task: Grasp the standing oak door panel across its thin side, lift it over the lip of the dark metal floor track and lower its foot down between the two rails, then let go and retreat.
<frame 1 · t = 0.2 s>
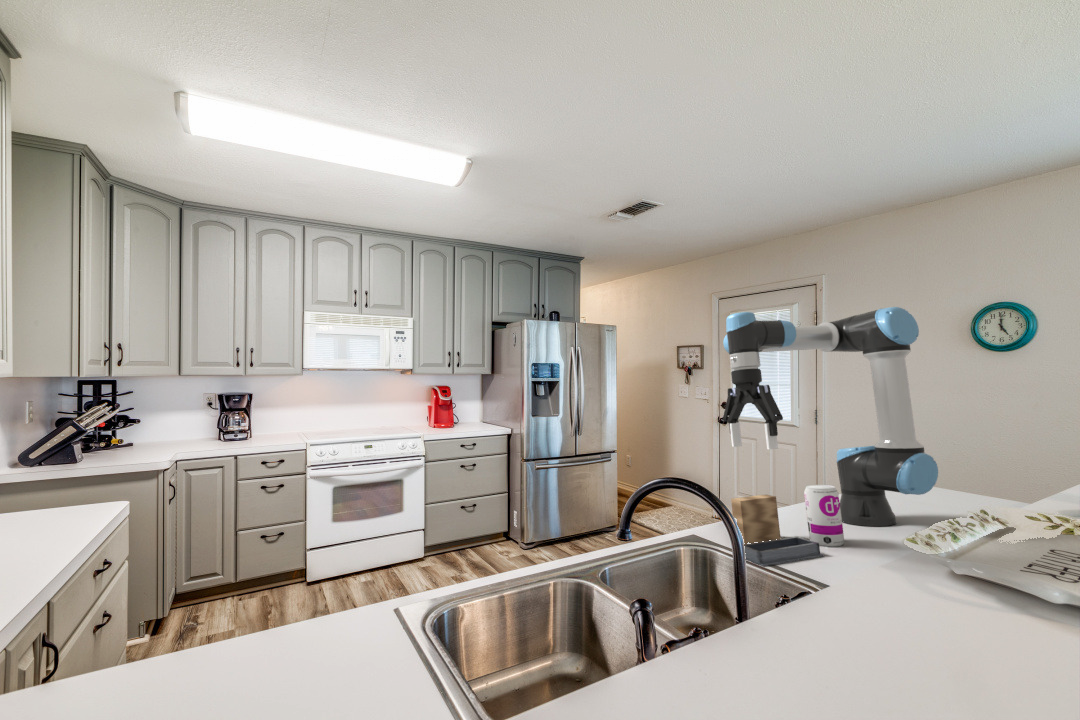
hand: (753, 447, 127), 27 cm above the countertop, fingers open, 13 cm apart
panel: (758, 540, 134), on the countertop
track: (780, 556, 120), on the countertop
supplement can: (827, 543, 129), on the countertop
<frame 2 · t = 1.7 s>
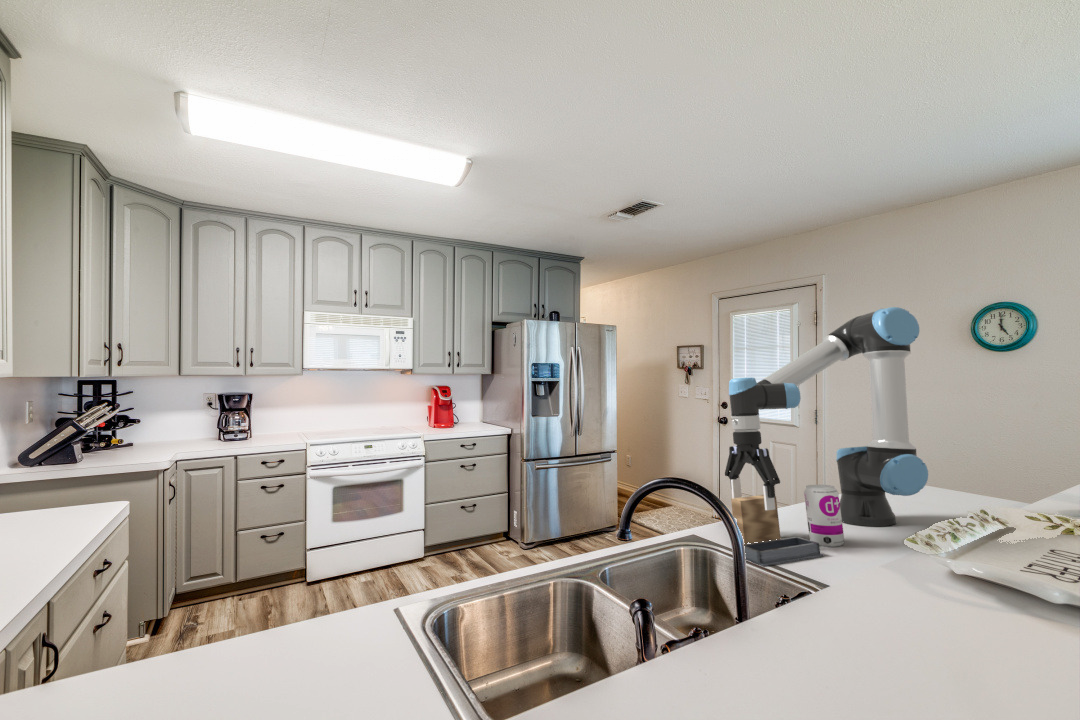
hand: (753, 505, 136), 10 cm above the countertop, fingers open, 13 cm apart
nothing on the countertop moved.
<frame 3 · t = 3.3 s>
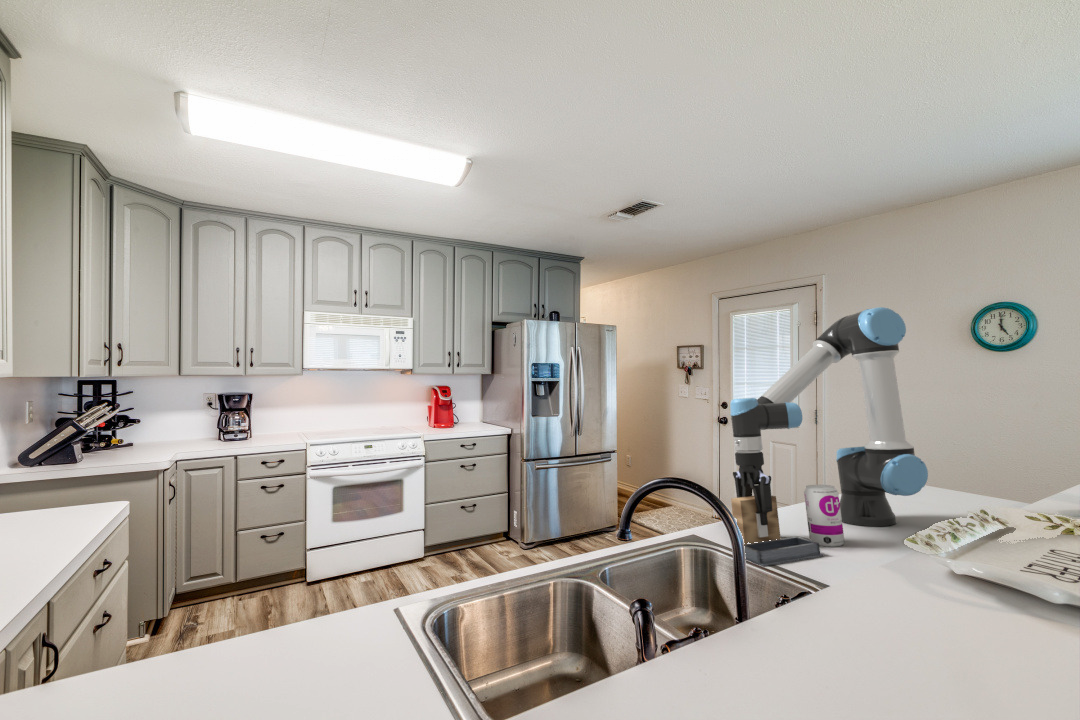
hand: (757, 534, 135), 2 cm above the countertop, fingers closed on panel, 4 cm apart
panel: (758, 540, 134), on the countertop, touching gripper
everything else where it was.
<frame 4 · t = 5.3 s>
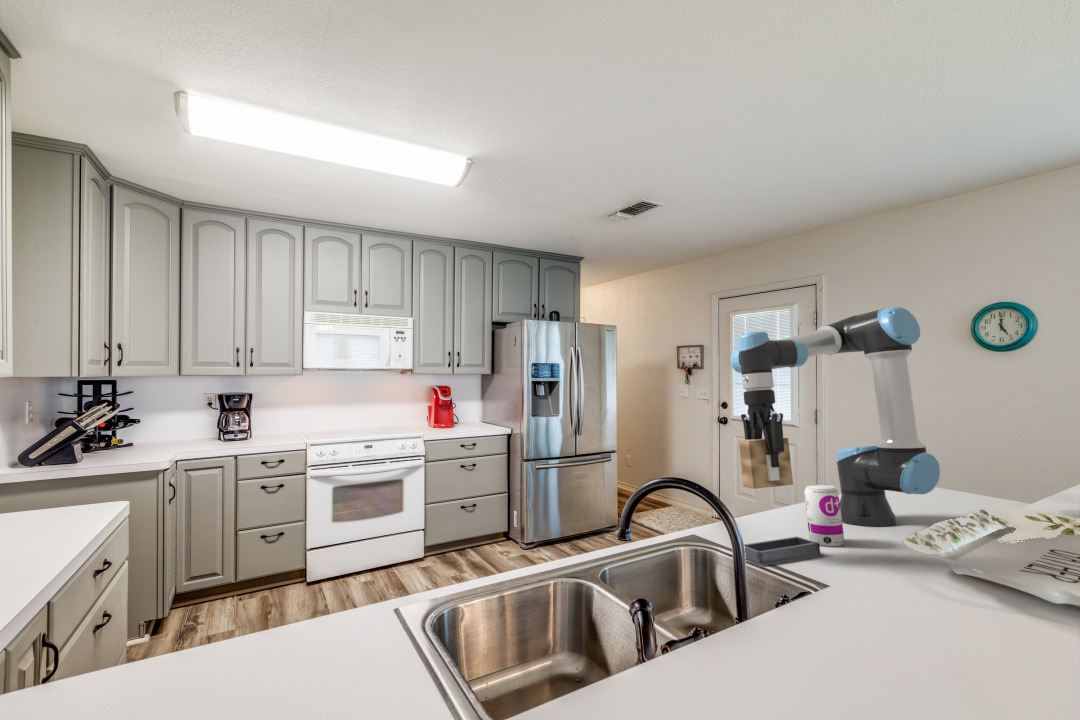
hand: (767, 478, 124), 19 cm above the countertop, fingers closed on panel, 4 cm apart
panel: (768, 485, 123), point 17 cm above the countertop, touching gripper
everything else where it was.
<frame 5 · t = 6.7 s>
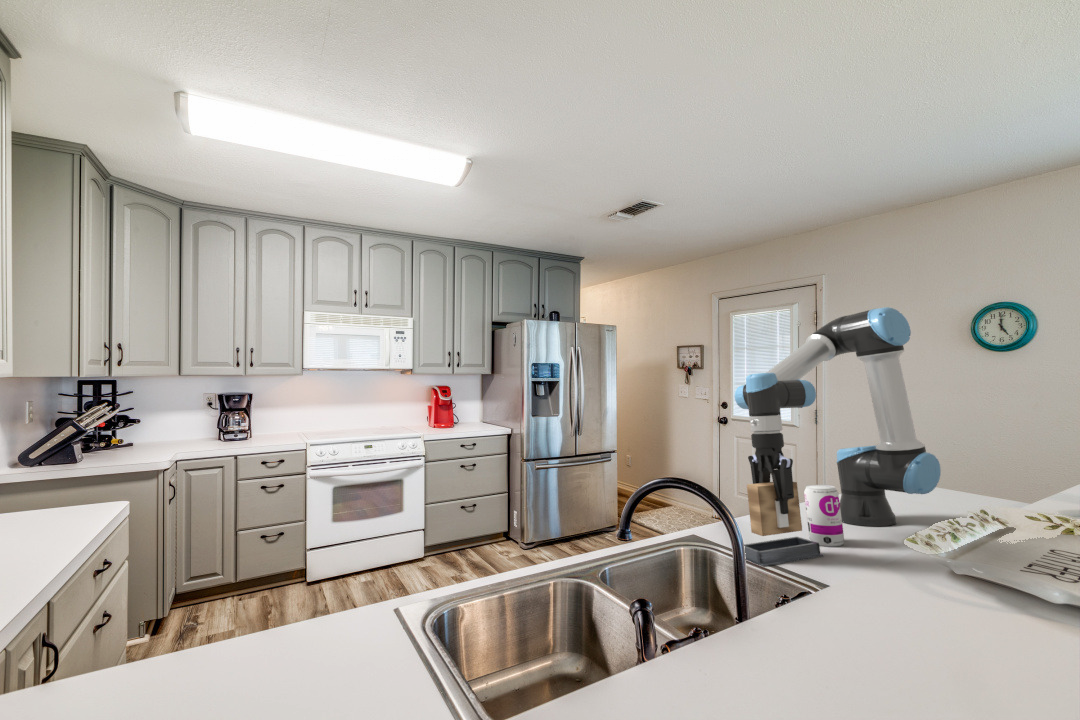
hand: (776, 524, 121), 8 cm above the countertop, fingers closed on panel, 4 cm apart
panel: (776, 531, 120), point 6 cm above the countertop, touching gripper
everything else where it was.
when the fingers open (4 cm above the countertop, at t = 7.7 s): panel drops 2 cm, resting on track.
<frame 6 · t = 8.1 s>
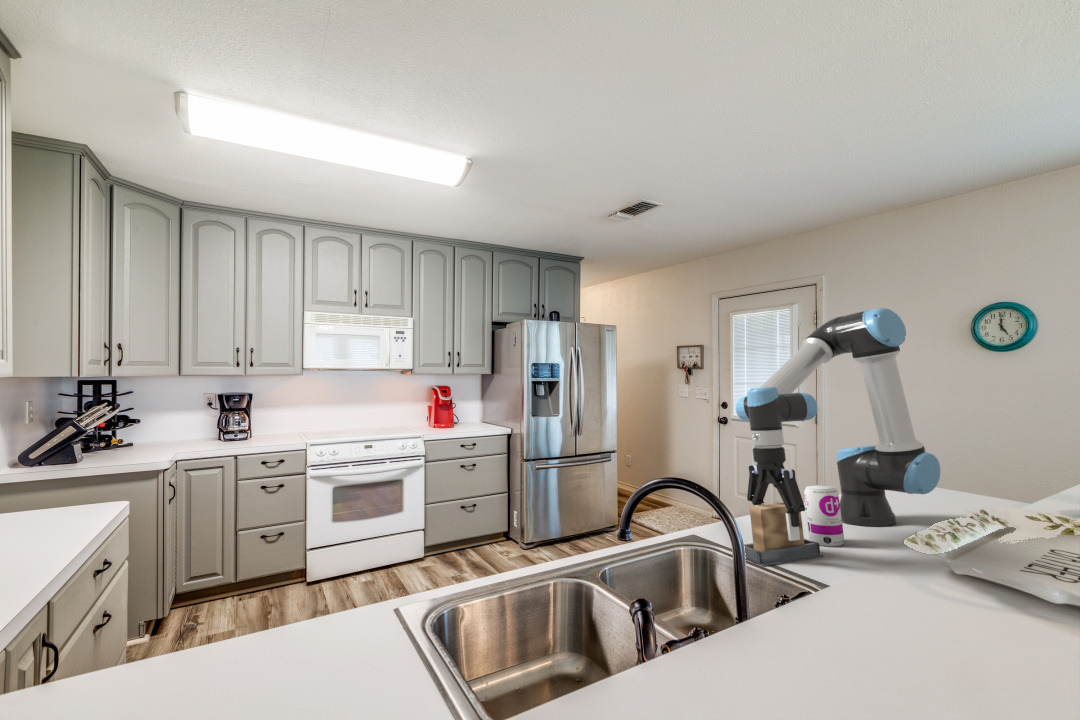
hand: (777, 534, 120), 5 cm above the countertop, fingers open, 10 cm apart
panel: (779, 554, 120), resting on track
everything else where it was.
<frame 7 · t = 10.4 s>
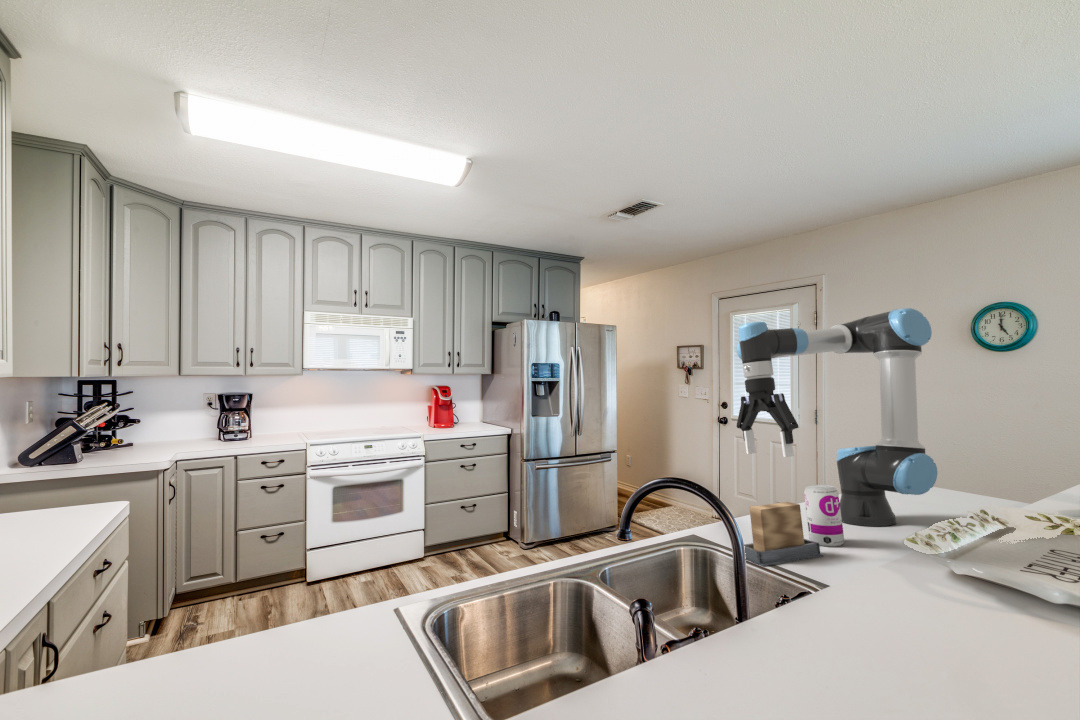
hand: (769, 455, 129), 25 cm above the countertop, fingers open, 13 cm apart
nothing on the countertop moved.
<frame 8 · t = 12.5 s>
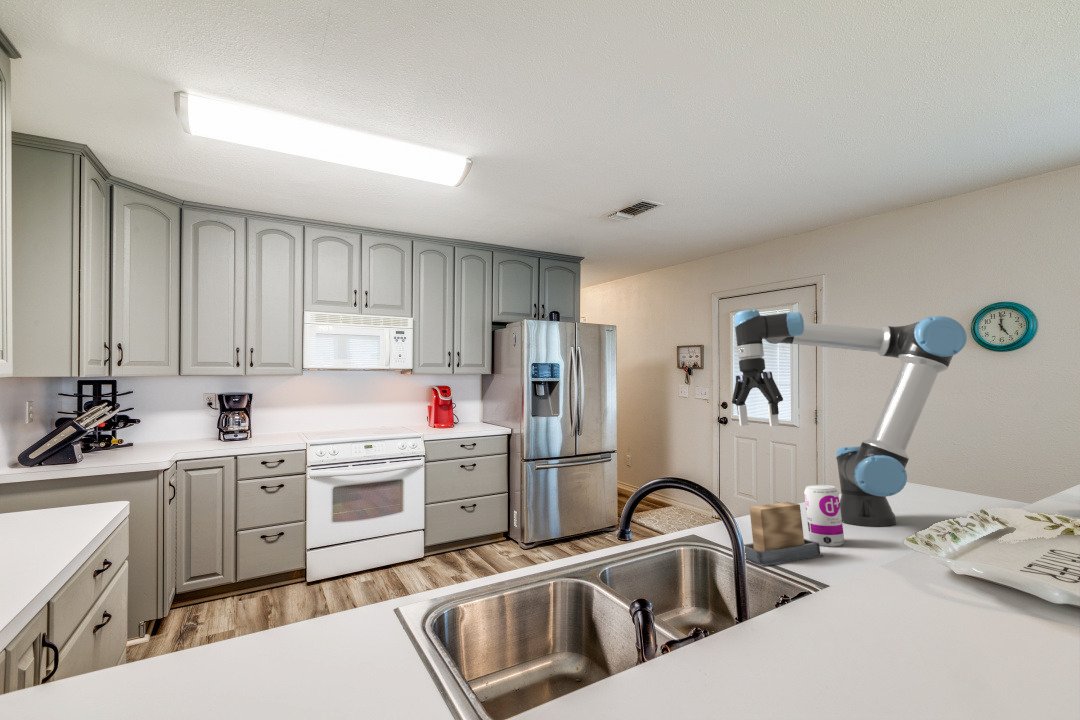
hand: (758, 425, 149), 32 cm above the countertop, fingers open, 13 cm apart
nothing on the countertop moved.
at the end: panel 0.0 cm off-centre on the track, point 0.5 cm above the track's base; panel tilted 0°; the gripper is holding nothing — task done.
